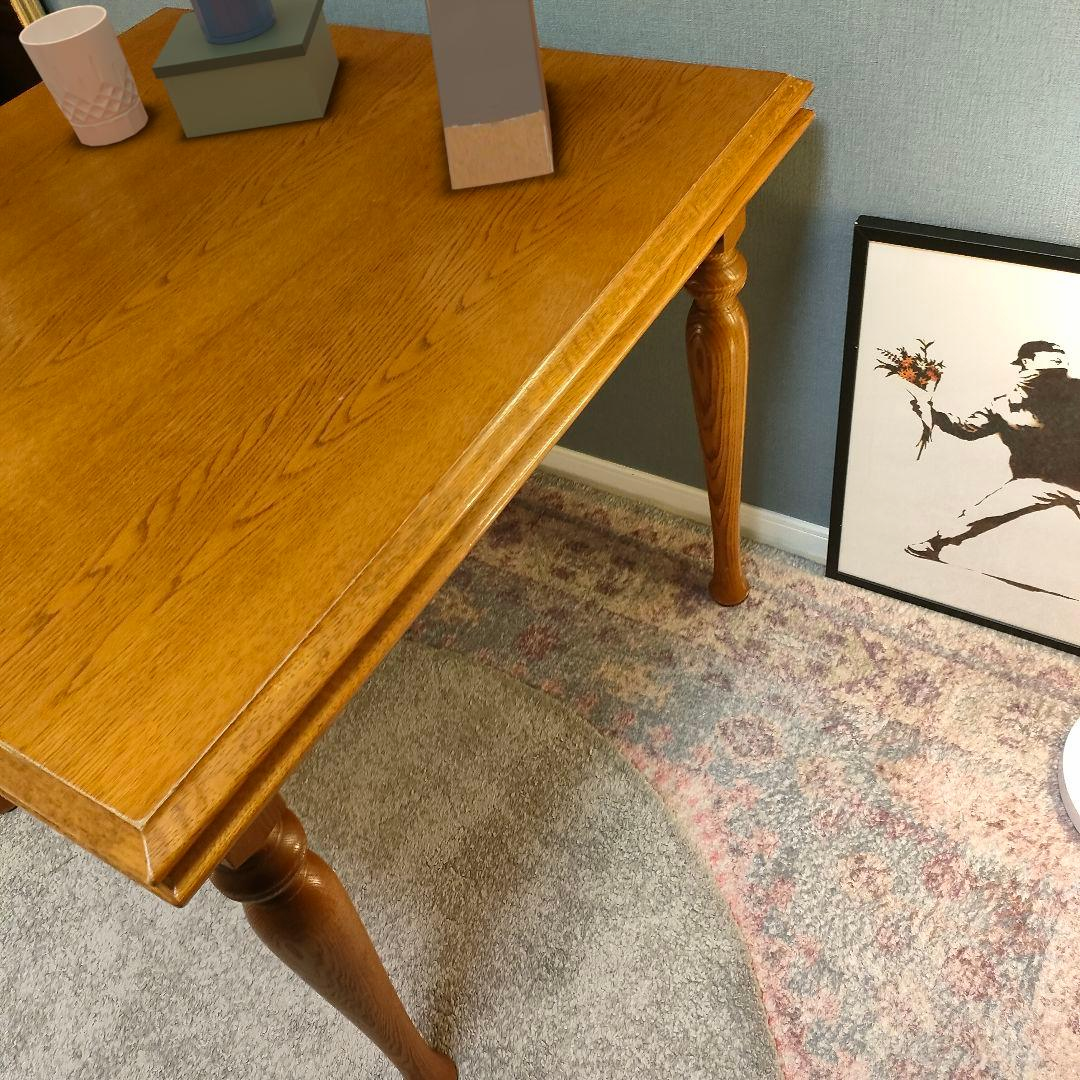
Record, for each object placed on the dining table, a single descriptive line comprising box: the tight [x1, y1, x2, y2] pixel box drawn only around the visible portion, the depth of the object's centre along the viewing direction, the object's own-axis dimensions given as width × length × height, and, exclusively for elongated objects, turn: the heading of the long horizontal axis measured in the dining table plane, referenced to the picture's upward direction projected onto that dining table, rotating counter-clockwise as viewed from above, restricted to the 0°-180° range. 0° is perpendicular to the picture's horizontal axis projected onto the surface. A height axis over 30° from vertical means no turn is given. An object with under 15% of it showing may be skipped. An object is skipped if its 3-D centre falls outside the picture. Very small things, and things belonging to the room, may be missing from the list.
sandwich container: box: [424, 0, 555, 190], centre depth 78 cm, size 9×15×15 cm, turn 3°
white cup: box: [18, 4, 149, 147], centre depth 92 cm, size 8×8×10 cm
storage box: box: [151, 0, 340, 139], centre depth 93 cm, size 14×12×7 cm
